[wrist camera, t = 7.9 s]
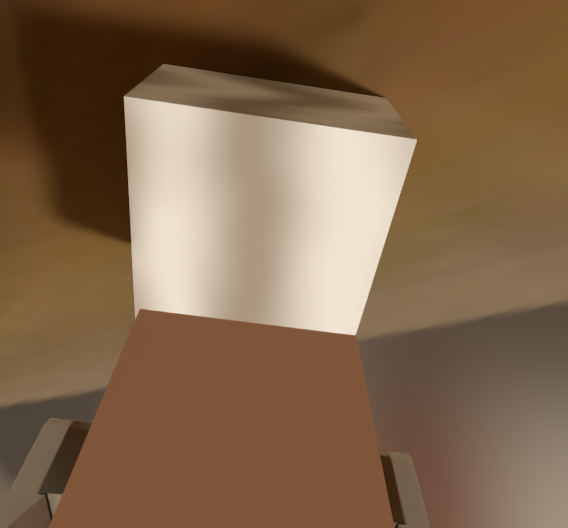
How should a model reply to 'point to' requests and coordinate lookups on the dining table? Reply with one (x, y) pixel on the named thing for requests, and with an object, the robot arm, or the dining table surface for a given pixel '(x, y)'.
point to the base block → (259, 197)
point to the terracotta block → (230, 432)
